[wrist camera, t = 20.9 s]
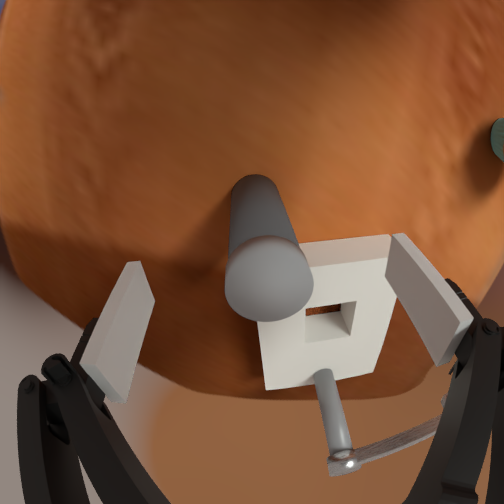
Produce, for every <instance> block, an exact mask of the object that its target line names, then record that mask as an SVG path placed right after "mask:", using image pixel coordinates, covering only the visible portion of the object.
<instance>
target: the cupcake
mask: <svg viewBox="0 0 504 504" xmlns="http://www.w3.org/2000/svg"><path fill="white" fill-rule="evenodd" d="M491 145H492V149H493V151H494V153H495V154H496V155H497V156H498V157H499V158H500V159H501V160H502V161H503V162H504V118H500V119H498V120H496V121H495V123H494V125H493V127H492V130H491Z"/></svg>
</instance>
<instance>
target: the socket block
mask: <svg viewBox="0 0 504 504" xmlns="http://www.w3.org/2000/svg"><path fill="white" fill-rule="evenodd" d="M390 244H391V237H390V236H389V235H388V234H384V235H375V236H365V237H356V238H346V239H337V240H328V241H319V242H309V243H300V244H299V246H300V249H301V250H302V251H303V253H304V255H305V257H306V260H307V262H308V265H309V268H310V270H311V273H312V276H313V280H314V287H313V292H312V295H311V297H310V299H309V301H308V302H307V304H306V305H305V306H304V307H303V308H302V309H301V310H300V311H298V312H297V313H295V314H294V315H292V316H290V317H288V318H285V319H282V320H279V321H273V322H259V321H257V324H258V332H259V340H260V348H261V356H262V363H263V371H264V379H265V387H266V390H273V389H282V388H290V387H297V386H304V385H310V384H315V387H316V391H317V396H318V400H319V404H320V410H321V414H322V419H323V424H324V428H325V433H326V438H327V443H328V447H329V453H330V456H331V455H333V454H335V453H338V452H342V451H346V450H352V449H353V448H352V443H351V440H350V435H349V431H348V427H347V424H346V420H345V416H344V412H343V408H342V404H341V401H340V397H339V393H338V390H337V386H336V382H335V380H339V379H344V378H349V377H354V376H358V375H363V374H367V373H371V372H373V370H374V367H375V365H376V362H377V359H378V356H379V353H380V350H381V347H382V344H383V341H384V338H385V335H386V332H387V329H388V325H389V322H390V319H391V315H392V312H393V308H394V305H395V301H396V297H397V295H396V294H395V292H394V291H393V289H392V287H391V286H390V284H389V283H388V281H387V279H386V278H385V271H386V266H387V261H388V255H389V250H390ZM340 303H341V310H340V311H337V312H331V313H324V314H317V315H310V316H305V308H312V307H319V306H326V305H333V304H340Z"/></svg>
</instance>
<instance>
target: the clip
mask: <svg viewBox="0 0 504 504" xmlns="http://www.w3.org/2000/svg"><path fill="white" fill-rule="evenodd" d="M447 395H448V393H447V394H445V395H443V398H442V400H441V404H442V406H443V408H444V406H445V402H446V399H447ZM441 415H442V414H441ZM441 415H439V416H437V417H435V418H433V419H431V420H429V421H427V422H424V423H422V424H420V425H418V426H416V427H413V428H411V429H409V430H407V431H404V432H402V433H399V434H397V435H394V436H392V437H389V438H387V439H384V440H381V441H378V442H375V443H373V444H370V445H367V446H364V447H361V448H357V449H352V450H346V451H342V452H338V453H335V454H333V455H331V456H329V457H328V458H327V464H328V469H329V474H330V476H339V475H344V474H348V473H351V472H354V471H356V470H358V469H360V468H361V464H363V463H366V462H370V461H372V460H375V459H378V458H381V457H384V456H387V455H389V454H392V453H394V452H397V451H399V450H402V449H404V448H407V447H409V446H412V445H414V444H416V443H418V442H421V441H423V440H425V439H427V438H429V437H431V436H433V435H435V433H436V430H437V428H438V425H439V422H440V419H441Z"/></svg>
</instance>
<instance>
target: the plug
mask: <svg viewBox="0 0 504 504" xmlns="http://www.w3.org/2000/svg"><path fill="white" fill-rule="evenodd" d="M313 287H314V280H313V276H312V273H311V270H310V268H309V265H308V262H307V260H306V257H305V255H304V253H303V251H302V250H301V249H300V246H299V244H298V241H297V238H296V236H295V233H294V230H293V228H292V225H291V223H290V220H289V217H288V215H287V212H286V210H285V207H284V205H283V202H282V200H281V197H280V195H279V192H278V190H277V187H276V185H275V184H274V183H273V181H271V180H270V179H269V178H267V177H265V176H263V175H257V174H254V175H248V176H245V177H243V178H242V179H240V180H239V181H238V182H237V183H236V184H235V186H234V188H233V190H232V195H231V212H230V231H229V252H228V261H227V265H226V275H225V296H226V299H227V301H228V303H229V305H230V306H231V308H232V309H233V310H234V311H235V312H237V313H238V314H239V315H241V316H243V317H245V318H247V319H250V320H254V321H259V322H273V321H279V320H282V319H285V318H288V317H290V316H292V315H294V314H295V313H297V312H298V311H300V310H301V309H302V308H303V307H304V306H305V305H306V304H307V302H308V301H309V299H310V297H311V295H312V292H313Z"/></svg>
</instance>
